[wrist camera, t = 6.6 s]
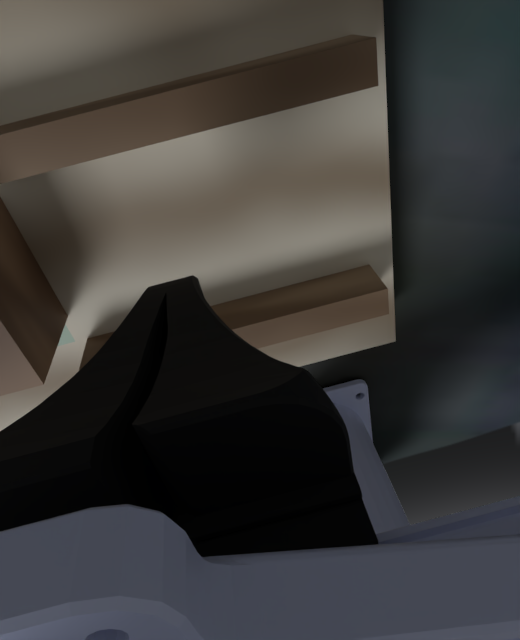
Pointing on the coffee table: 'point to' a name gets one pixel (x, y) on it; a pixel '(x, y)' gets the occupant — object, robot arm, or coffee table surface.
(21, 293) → the block
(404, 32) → the coffee table surface
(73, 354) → the deck
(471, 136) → the coffee table surface
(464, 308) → the coffee table surface
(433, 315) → the coffee table surface
